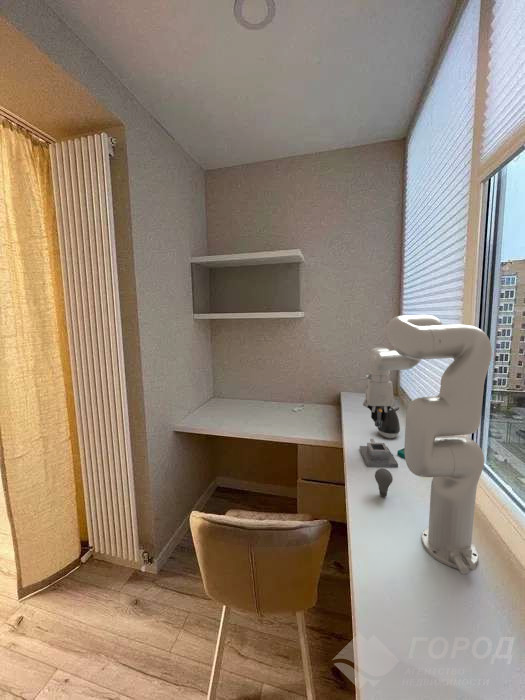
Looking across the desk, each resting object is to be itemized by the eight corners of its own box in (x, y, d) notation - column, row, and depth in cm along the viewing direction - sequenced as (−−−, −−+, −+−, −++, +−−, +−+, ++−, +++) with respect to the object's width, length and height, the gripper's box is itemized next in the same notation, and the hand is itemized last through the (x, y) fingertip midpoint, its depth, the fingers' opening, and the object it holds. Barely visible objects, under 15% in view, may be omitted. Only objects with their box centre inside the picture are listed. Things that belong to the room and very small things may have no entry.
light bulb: (392, 493, 97) (393, 467, 95) (391, 503, 92) (392, 476, 91) (375, 489, 99) (375, 463, 98) (373, 499, 95) (374, 472, 93)
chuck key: (384, 429, 114) (384, 408, 113) (376, 428, 114) (377, 408, 113) (379, 422, 121) (379, 402, 119) (372, 422, 121) (372, 402, 120)
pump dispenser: (404, 439, 135) (405, 409, 132) (384, 441, 133) (385, 411, 131) (391, 430, 145) (392, 402, 142) (373, 432, 143) (373, 404, 141)
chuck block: (398, 467, 112) (398, 456, 111) (367, 466, 114) (367, 455, 113) (385, 447, 128) (385, 436, 127) (358, 446, 130) (358, 436, 129)
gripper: (361, 380, 111) (360, 423, 114) (403, 380, 109) (402, 424, 112) (357, 375, 119) (356, 416, 122) (397, 375, 117) (395, 417, 120)
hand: (378, 420), depth 117 cm, fingers closed on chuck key, 2 cm apart
